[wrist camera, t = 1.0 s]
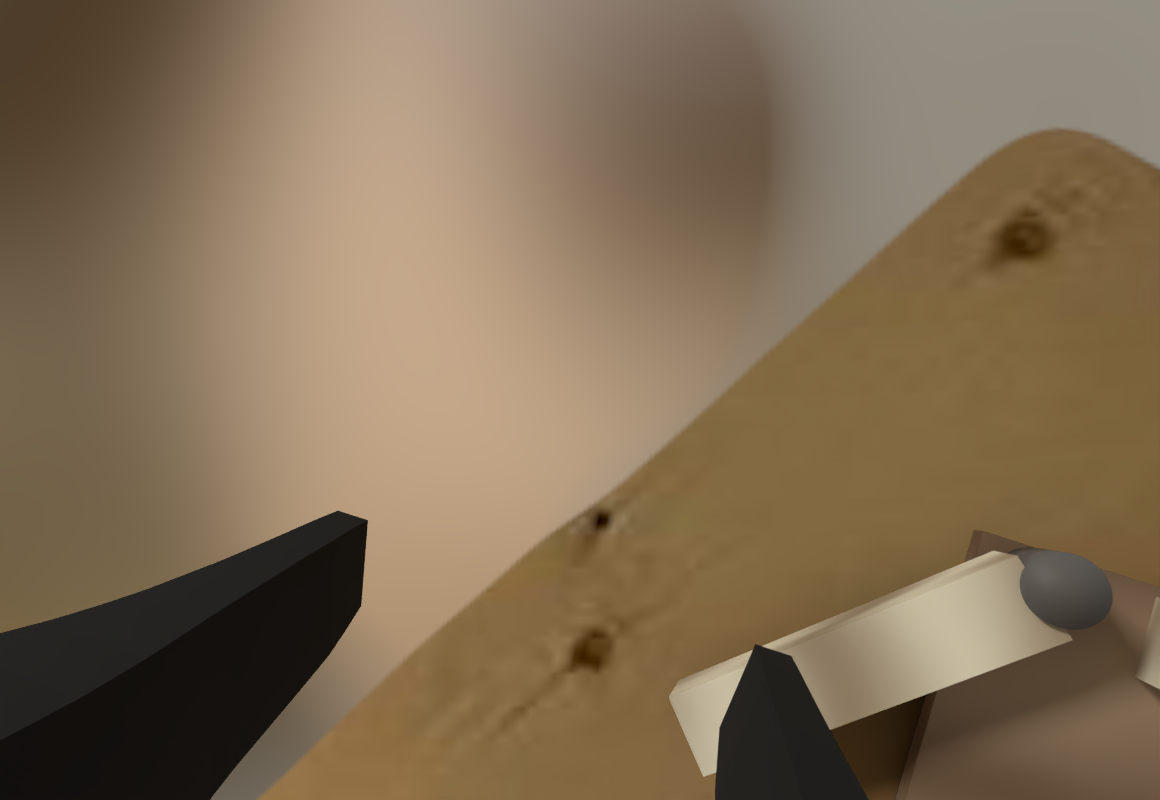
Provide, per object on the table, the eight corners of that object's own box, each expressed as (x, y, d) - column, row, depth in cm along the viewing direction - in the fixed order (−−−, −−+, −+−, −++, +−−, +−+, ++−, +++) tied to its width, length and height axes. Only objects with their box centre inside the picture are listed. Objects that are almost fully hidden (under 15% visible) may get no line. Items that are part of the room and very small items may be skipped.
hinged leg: (1042, 530, 18) (1076, 533, 16) (1093, 606, 17) (1136, 619, 15) (679, 680, 21) (667, 699, 19) (710, 751, 20) (702, 779, 18)
